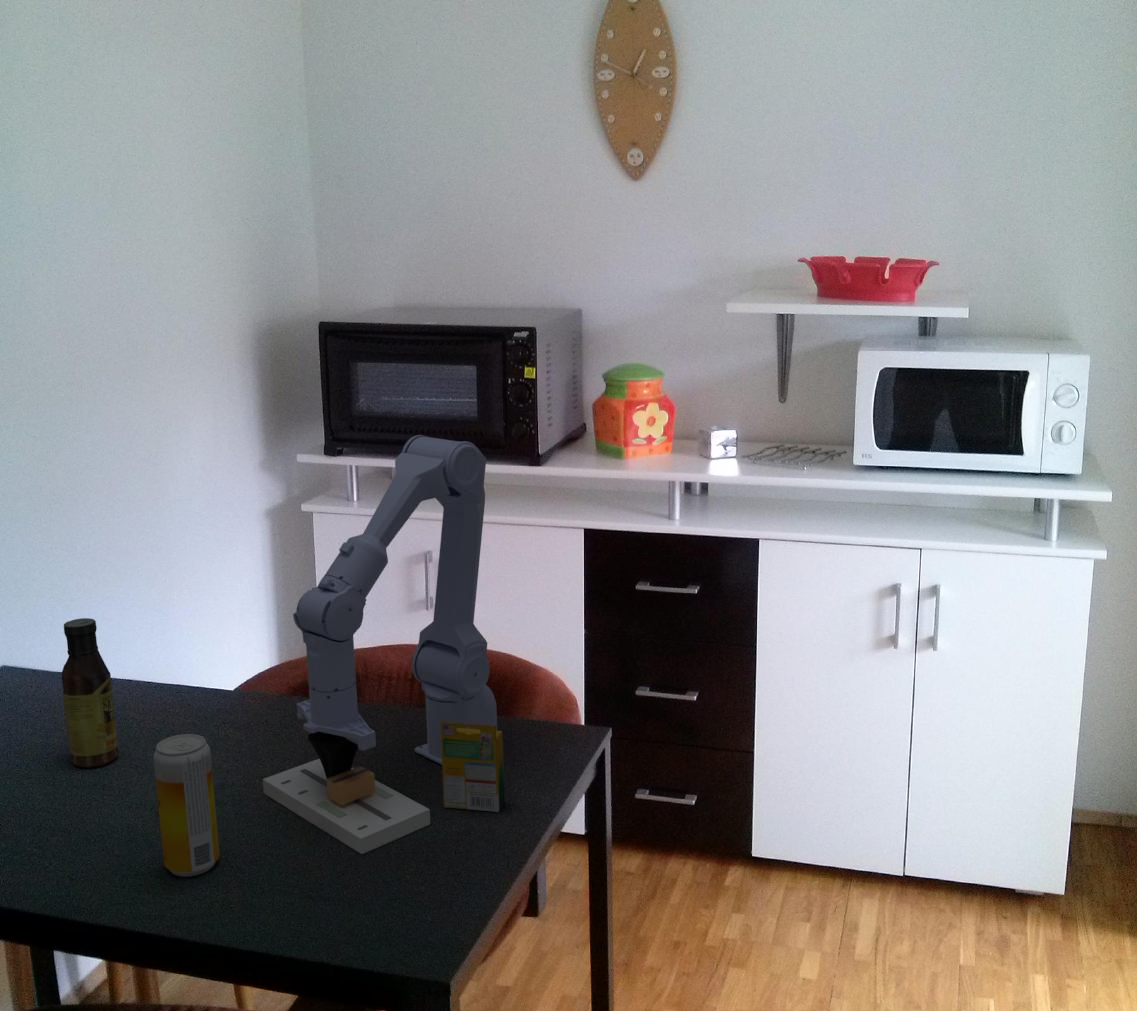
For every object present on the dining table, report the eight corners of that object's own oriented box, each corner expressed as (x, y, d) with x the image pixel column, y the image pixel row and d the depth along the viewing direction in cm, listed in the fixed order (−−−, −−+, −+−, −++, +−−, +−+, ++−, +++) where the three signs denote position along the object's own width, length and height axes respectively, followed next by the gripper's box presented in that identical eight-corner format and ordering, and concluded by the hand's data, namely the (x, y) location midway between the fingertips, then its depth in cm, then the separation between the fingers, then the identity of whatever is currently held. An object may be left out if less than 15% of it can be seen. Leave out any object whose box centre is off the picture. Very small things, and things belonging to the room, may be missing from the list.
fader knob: (361, 784, 150) (360, 765, 150) (375, 791, 148) (374, 772, 147) (327, 797, 147) (326, 778, 146) (341, 805, 145) (339, 786, 144)
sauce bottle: (120, 765, 162) (105, 626, 158) (70, 773, 160) (54, 633, 156) (118, 746, 168) (104, 612, 164) (71, 754, 166) (55, 618, 162)
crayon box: (505, 802, 150) (503, 716, 148) (499, 813, 147) (496, 726, 145) (450, 797, 152) (446, 712, 149) (443, 808, 149) (439, 721, 146)
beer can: (200, 846, 141) (189, 728, 137) (230, 862, 137) (220, 741, 133) (154, 867, 136) (141, 745, 133) (184, 885, 132) (172, 760, 129)
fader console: (329, 768, 160) (328, 754, 160) (430, 824, 145) (429, 808, 144) (263, 793, 154) (262, 778, 153) (361, 854, 138) (360, 837, 138)
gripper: (272, 677, 149) (280, 777, 152) (338, 708, 138) (344, 815, 141) (321, 662, 153) (327, 760, 156) (387, 692, 143) (393, 796, 146)
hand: (339, 785), depth 149 cm, fingers closed
